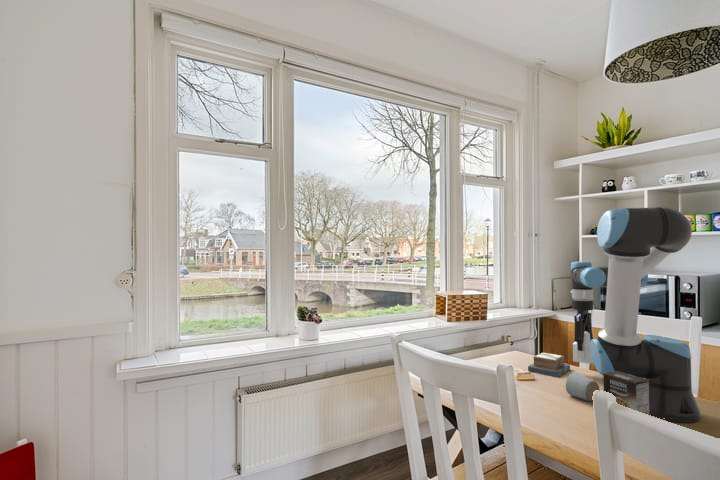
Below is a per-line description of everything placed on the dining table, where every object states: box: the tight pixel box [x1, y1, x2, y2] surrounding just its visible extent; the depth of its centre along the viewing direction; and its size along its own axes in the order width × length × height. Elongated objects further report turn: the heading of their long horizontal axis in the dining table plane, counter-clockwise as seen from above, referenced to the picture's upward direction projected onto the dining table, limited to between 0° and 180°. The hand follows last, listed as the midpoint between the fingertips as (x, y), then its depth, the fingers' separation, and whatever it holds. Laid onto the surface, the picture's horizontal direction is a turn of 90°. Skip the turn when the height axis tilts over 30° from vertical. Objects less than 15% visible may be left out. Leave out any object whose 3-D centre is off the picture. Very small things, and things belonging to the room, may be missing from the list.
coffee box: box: [602, 371, 650, 416], centre depth 112 cm, size 9×6×16 cm
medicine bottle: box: [572, 331, 594, 365], centre depth 162 cm, size 7×7×12 cm
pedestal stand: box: [527, 352, 571, 378], centre depth 170 cm, size 14×12×6 cm
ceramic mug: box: [565, 372, 600, 402], centre depth 139 cm, size 11×8×8 cm
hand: (584, 356), depth 162 cm, fingers closed on medicine bottle, 7 cm apart
